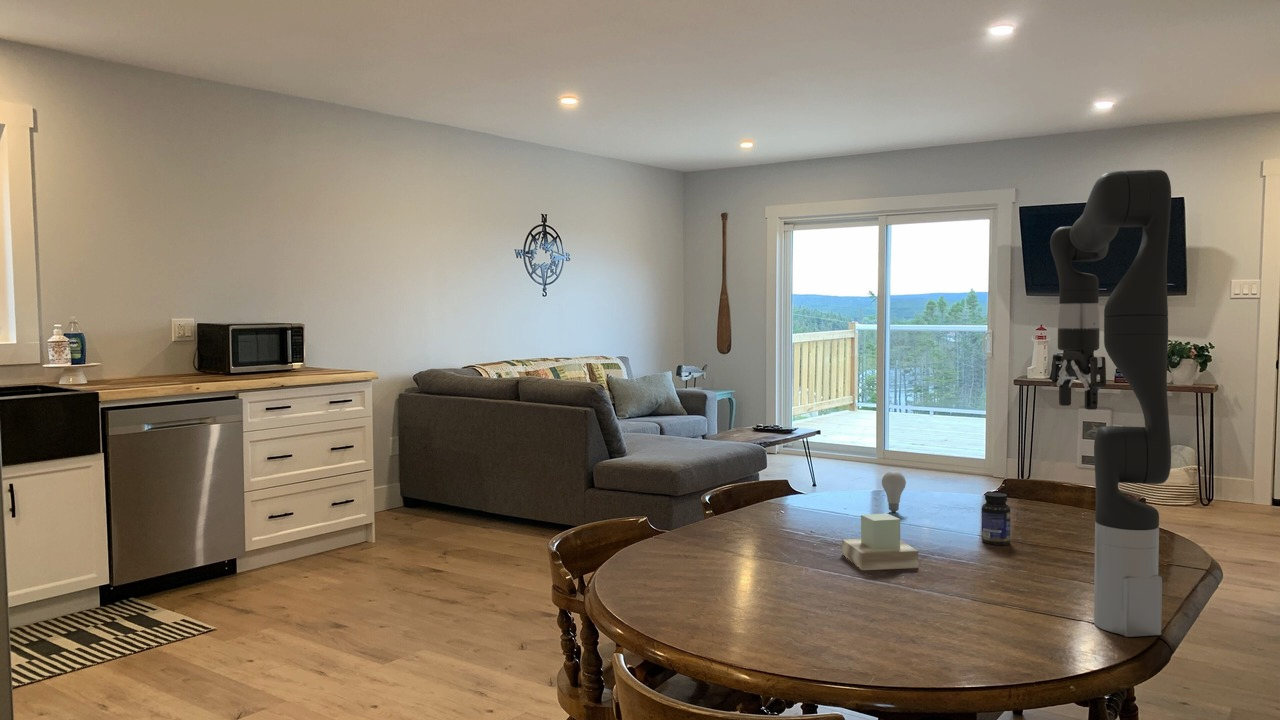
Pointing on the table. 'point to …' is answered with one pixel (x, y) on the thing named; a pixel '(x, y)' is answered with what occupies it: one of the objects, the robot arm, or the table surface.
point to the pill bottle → (996, 519)
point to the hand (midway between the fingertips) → (1077, 407)
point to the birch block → (879, 556)
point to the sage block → (880, 531)
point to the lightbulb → (893, 488)
